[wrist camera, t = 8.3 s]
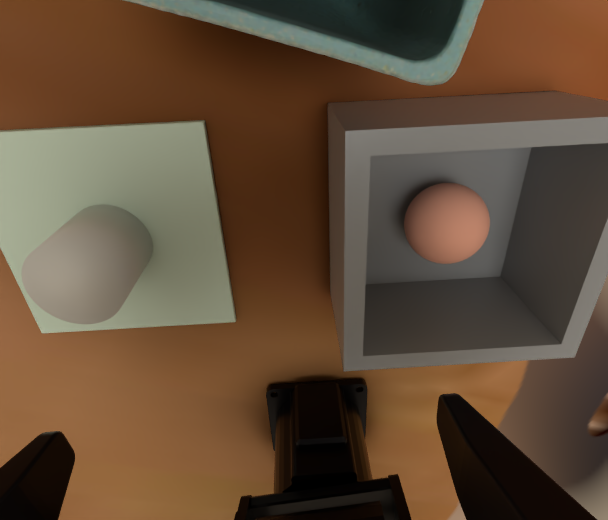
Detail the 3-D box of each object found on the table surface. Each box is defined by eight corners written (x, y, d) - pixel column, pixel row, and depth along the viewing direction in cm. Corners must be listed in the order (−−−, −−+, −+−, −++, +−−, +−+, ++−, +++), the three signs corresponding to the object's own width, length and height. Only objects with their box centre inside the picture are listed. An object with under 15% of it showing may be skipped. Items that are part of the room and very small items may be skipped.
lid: (237, 311, 23) (226, 374, 19) (51, 322, 23) (-4, 388, 19) (207, 117, 18) (181, 143, 13) (-38, 129, 18) (-144, 160, 13)
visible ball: (463, 239, 20) (495, 276, 17) (393, 243, 20) (412, 281, 17) (475, 170, 18) (514, 197, 15) (398, 174, 18) (421, 202, 15)
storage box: (506, 282, 22) (574, 357, 17) (330, 292, 22) (343, 371, 17) (554, 90, 17) (671, 113, 12) (327, 102, 17) (345, 130, 12)
